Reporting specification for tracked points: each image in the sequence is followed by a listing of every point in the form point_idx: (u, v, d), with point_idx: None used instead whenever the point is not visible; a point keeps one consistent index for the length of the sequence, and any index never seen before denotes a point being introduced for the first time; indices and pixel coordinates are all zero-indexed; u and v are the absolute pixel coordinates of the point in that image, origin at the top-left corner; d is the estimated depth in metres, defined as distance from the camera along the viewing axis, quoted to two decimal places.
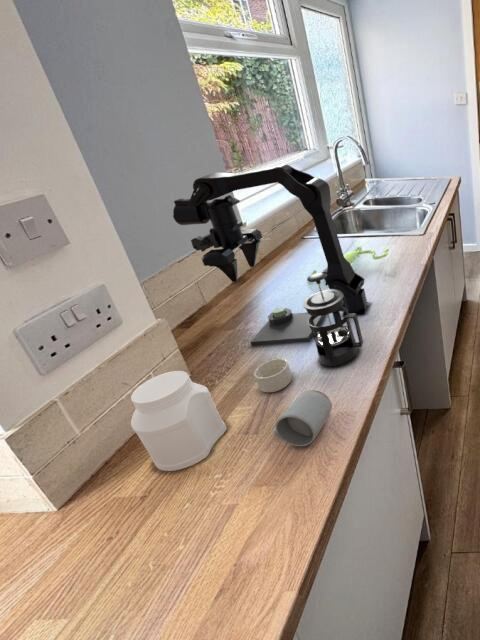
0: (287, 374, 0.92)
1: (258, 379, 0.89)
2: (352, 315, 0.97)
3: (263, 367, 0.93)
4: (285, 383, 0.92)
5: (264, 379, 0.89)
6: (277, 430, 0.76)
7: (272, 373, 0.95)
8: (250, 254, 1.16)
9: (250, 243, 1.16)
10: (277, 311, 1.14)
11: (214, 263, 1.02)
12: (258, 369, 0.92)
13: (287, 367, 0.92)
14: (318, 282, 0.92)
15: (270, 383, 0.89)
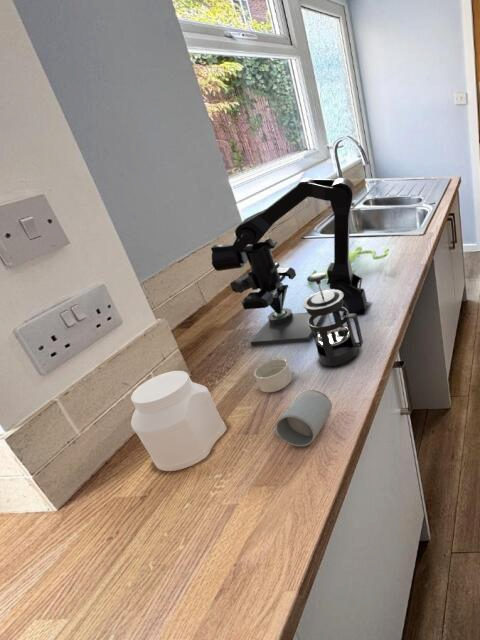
0: (287, 374, 0.92)
1: (258, 379, 0.89)
2: (352, 315, 0.97)
3: (263, 367, 0.93)
4: (285, 383, 0.92)
5: (264, 379, 0.89)
6: (277, 430, 0.76)
7: (272, 373, 0.95)
8: None
9: (278, 289, 1.13)
10: (278, 314, 1.15)
11: (254, 307, 1.03)
12: (258, 369, 0.92)
13: (287, 367, 0.92)
14: (318, 282, 0.92)
15: (270, 383, 0.89)
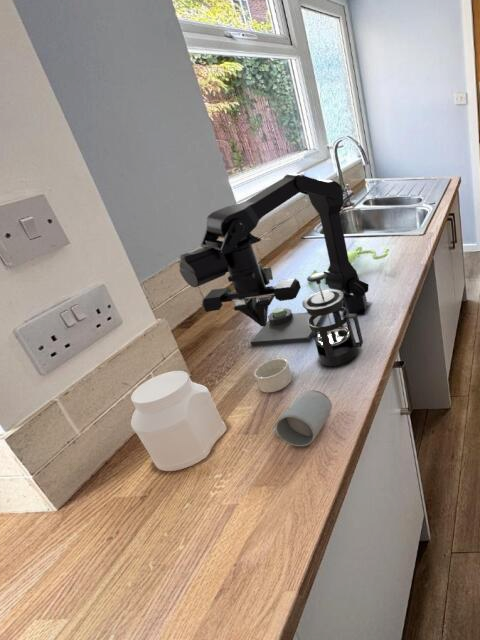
0: (287, 374, 0.92)
1: (258, 379, 0.89)
2: (352, 315, 0.97)
3: (263, 367, 0.93)
4: (285, 383, 0.92)
5: (264, 379, 0.89)
6: (277, 430, 0.76)
7: (272, 373, 0.95)
8: None
9: (257, 302, 0.92)
10: (277, 311, 1.14)
11: None
12: (258, 369, 0.92)
13: (287, 367, 0.92)
14: (318, 282, 0.92)
15: (270, 383, 0.89)
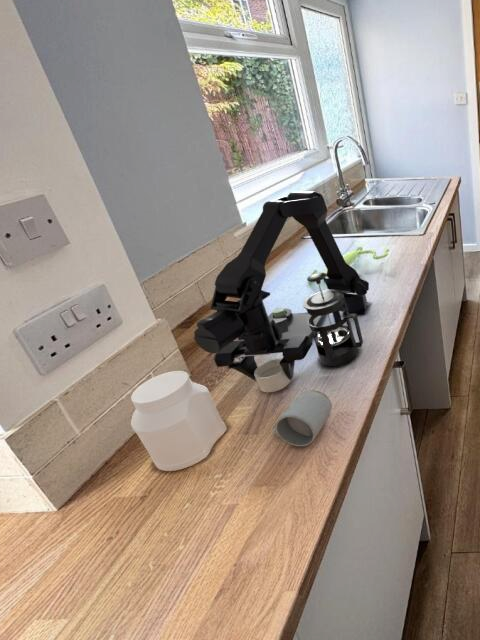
0: None
1: (258, 379, 0.89)
2: (352, 315, 0.97)
3: (263, 367, 0.93)
4: (285, 383, 0.92)
5: (264, 379, 0.89)
6: (277, 430, 0.76)
7: (272, 373, 0.95)
8: None
9: (283, 357, 0.89)
10: (277, 311, 1.14)
11: None
12: (258, 369, 0.92)
13: None
14: (318, 282, 0.92)
15: (270, 383, 0.89)
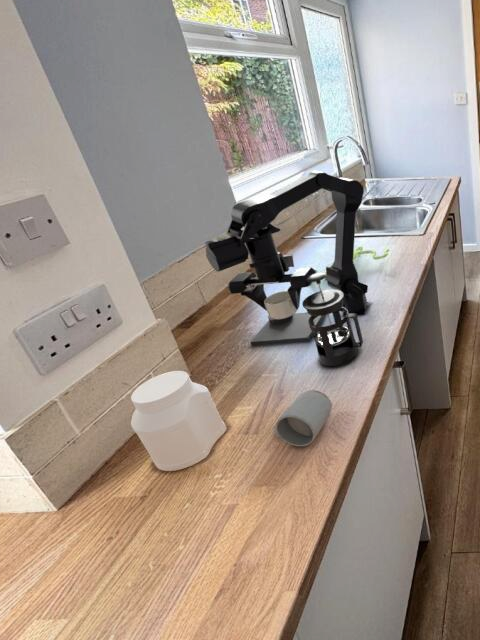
0: None
1: (268, 306, 0.99)
2: (352, 315, 0.97)
3: (271, 298, 1.03)
4: (292, 311, 1.01)
5: (273, 305, 0.98)
6: (277, 430, 0.76)
7: None
8: None
9: (290, 286, 0.99)
10: None
11: None
12: (267, 299, 1.01)
13: None
14: (318, 282, 0.92)
15: (279, 310, 0.99)
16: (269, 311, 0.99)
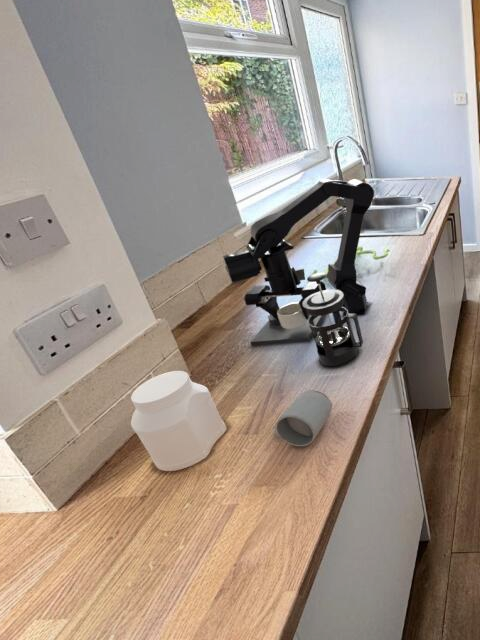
0: None
1: (280, 317, 1.06)
2: (352, 315, 0.97)
3: (283, 309, 1.10)
4: (303, 322, 1.08)
5: (286, 316, 1.05)
6: (277, 430, 0.76)
7: None
8: None
9: (302, 298, 1.06)
10: None
11: None
12: (280, 310, 1.08)
13: None
14: (318, 282, 0.92)
15: (290, 320, 1.06)
16: (281, 321, 1.06)
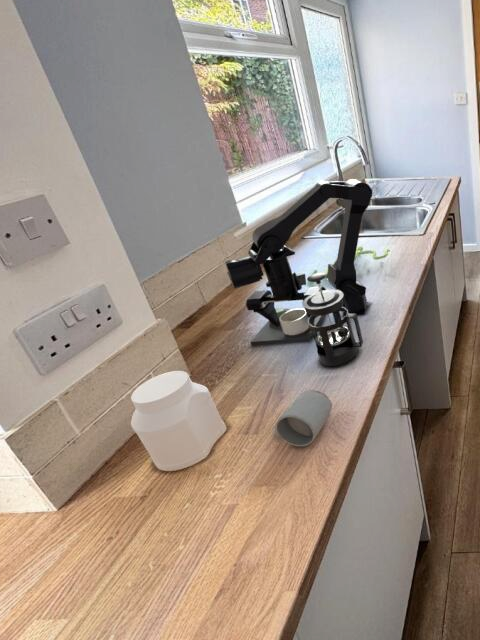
0: (306, 320, 1.09)
1: (283, 323, 1.06)
2: (352, 315, 0.97)
3: (286, 315, 1.10)
4: (305, 328, 1.09)
5: (288, 323, 1.06)
6: (277, 430, 0.76)
7: (293, 321, 1.12)
8: None
9: None
10: (277, 311, 1.14)
11: None
12: (282, 316, 1.09)
13: (306, 315, 1.10)
14: (318, 282, 0.92)
15: (293, 327, 1.07)
16: (284, 328, 1.07)
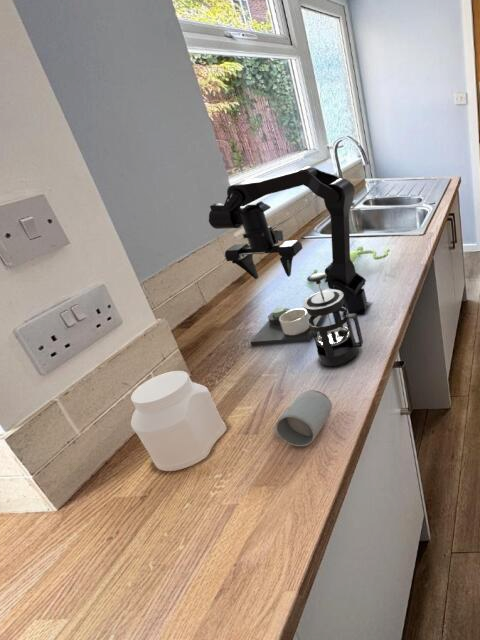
0: (306, 320, 1.09)
1: (283, 323, 1.06)
2: (352, 315, 0.97)
3: (286, 315, 1.10)
4: (305, 328, 1.09)
5: (288, 323, 1.06)
6: (277, 430, 0.76)
7: (293, 321, 1.12)
8: None
9: None
10: (277, 311, 1.14)
11: None
12: (282, 316, 1.09)
13: (306, 315, 1.10)
14: (318, 282, 0.92)
15: (293, 327, 1.07)
16: (284, 328, 1.07)
